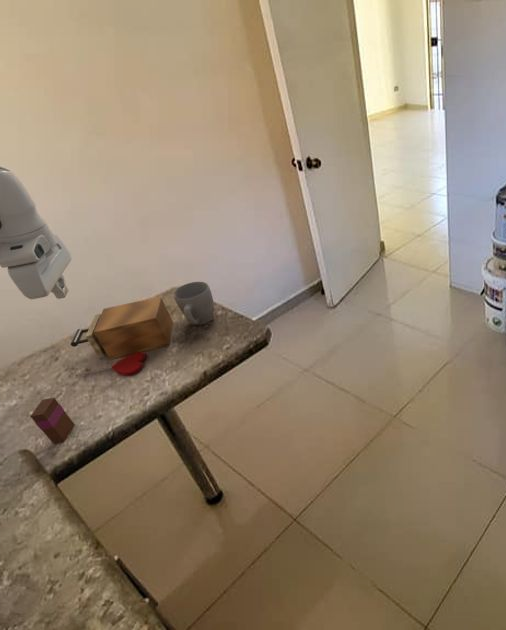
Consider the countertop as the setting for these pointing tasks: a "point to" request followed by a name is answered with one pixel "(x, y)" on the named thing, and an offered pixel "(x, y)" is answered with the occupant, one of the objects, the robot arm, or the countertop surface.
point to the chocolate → (52, 420)
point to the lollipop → (126, 364)
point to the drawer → (90, 337)
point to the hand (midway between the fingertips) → (63, 295)
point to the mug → (195, 302)
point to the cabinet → (134, 327)
